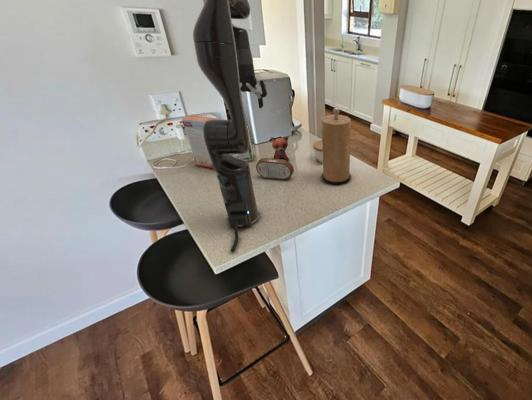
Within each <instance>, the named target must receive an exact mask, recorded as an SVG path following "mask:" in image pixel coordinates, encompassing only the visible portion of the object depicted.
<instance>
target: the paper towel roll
mask: <svg viewBox="0 0 532 400" xmlns="http://www.w3.org/2000/svg"><path fill="white" fill-rule="evenodd" d="M340 111H341V110H340V108H339V107H338V106H337V107H336V106H335V107H333V109H332V112H333V114H329V115H324V116H323V117H321V140H322V154H323V163H322V174H321V180H322V181H323V182H324V183H325V184H328V185H331V186H342V185H346V184H348V183H349V182H350V181H351V173H350V166H351V164H350V163H351V136H352V134H351V132H352V119H351V118H350V117H349V116H346V115H342V114H339V113H340Z"/></svg>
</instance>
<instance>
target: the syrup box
mask: <svg viewBox="0 0 532 400" xmlns="http://www.w3.org/2000/svg"><path fill="white" fill-rule="evenodd" d="M247 127H248V133H249V150H248V151H247V152H246V153H243V154H238V158H240V159H243V160H245V161H246V162H250V161H252V162H253V161H254V152H253V147H252V140H251V136H250V129H249V126H248V125H247Z"/></svg>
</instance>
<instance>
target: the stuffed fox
mask: <svg viewBox="0 0 532 400" xmlns="http://www.w3.org/2000/svg"><path fill="white" fill-rule="evenodd" d="M289 139H290V137H289V136H286V137H278V138H276V137H274V136H273V137H272V136H271V137H270V140H271V141H272V144H271V147H272V148H273V149H274V154H273V159H281V158H282V160H286V161H288V162H289V160H290V159H289V157H288V155H287V153H286V150H287V149H288V146H289V142H288V141H289Z"/></svg>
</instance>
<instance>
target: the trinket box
mask: <svg viewBox="0 0 532 400" xmlns="http://www.w3.org/2000/svg"><path fill="white" fill-rule="evenodd" d="M312 149H313V154H314V155H313V156H314V157H315V158H316V159H317V160H318V162H320V163H322V164H323V154H322V139H321V140H317V141H314V142H313V144H312Z"/></svg>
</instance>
